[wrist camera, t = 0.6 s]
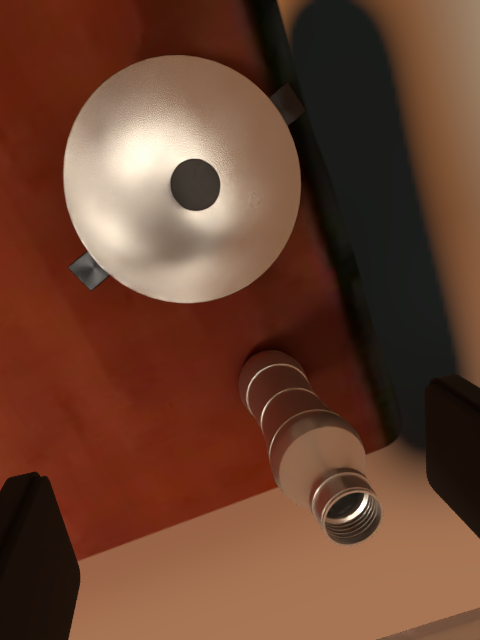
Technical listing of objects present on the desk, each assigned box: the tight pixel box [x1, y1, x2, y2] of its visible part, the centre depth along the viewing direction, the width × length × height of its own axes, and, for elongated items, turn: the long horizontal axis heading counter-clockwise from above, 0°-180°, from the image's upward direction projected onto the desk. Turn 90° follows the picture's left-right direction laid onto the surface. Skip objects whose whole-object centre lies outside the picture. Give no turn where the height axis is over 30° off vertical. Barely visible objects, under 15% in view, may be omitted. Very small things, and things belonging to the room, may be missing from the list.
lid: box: [63, 55, 301, 303], centre depth 27 cm, size 17×17×8 cm
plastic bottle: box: [239, 350, 383, 546], centre depth 32 cm, size 6×7×20 cm
